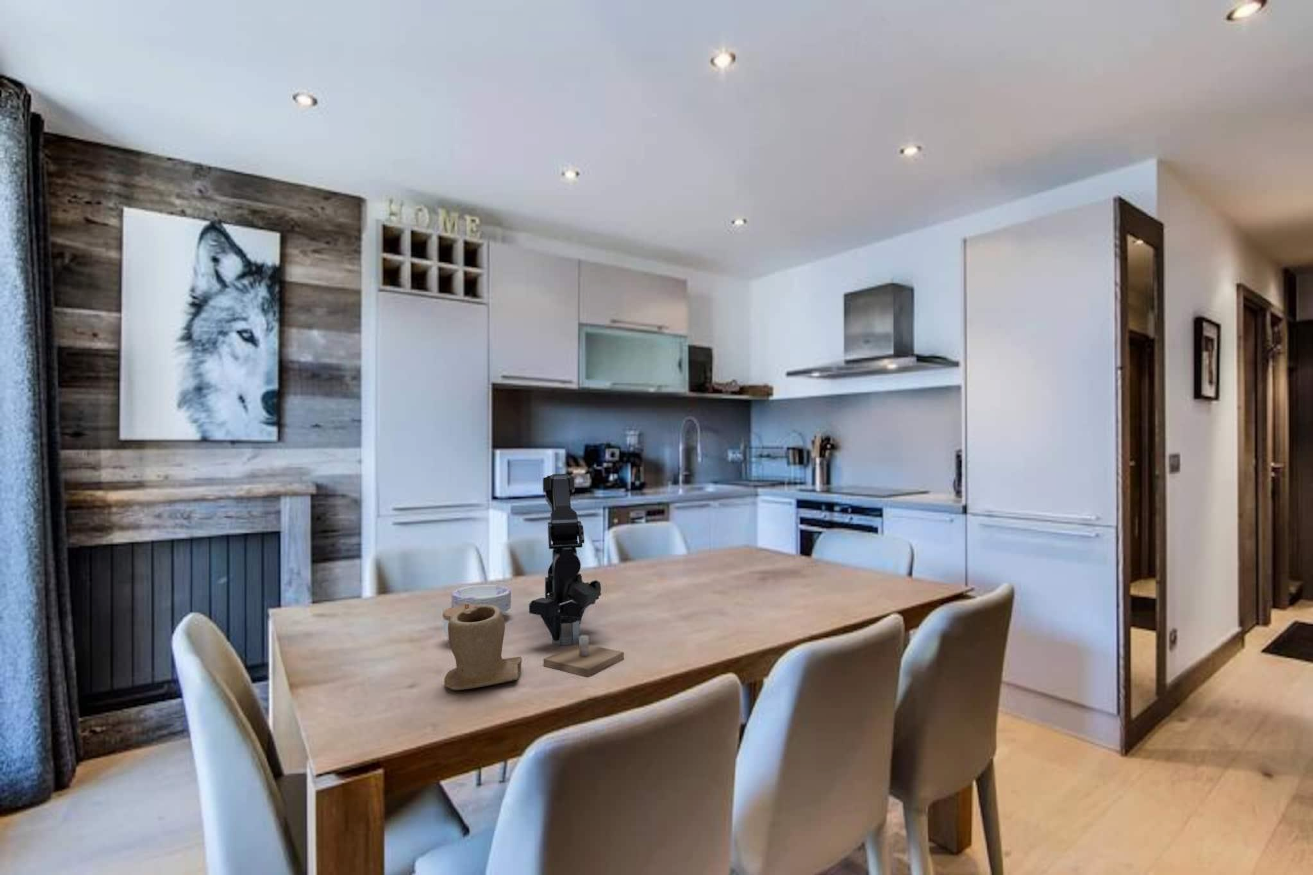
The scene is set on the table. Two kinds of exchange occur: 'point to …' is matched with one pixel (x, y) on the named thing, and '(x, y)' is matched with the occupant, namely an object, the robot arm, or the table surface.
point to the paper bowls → (483, 596)
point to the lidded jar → (451, 611)
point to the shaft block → (583, 658)
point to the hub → (568, 631)
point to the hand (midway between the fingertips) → (565, 636)
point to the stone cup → (479, 649)
